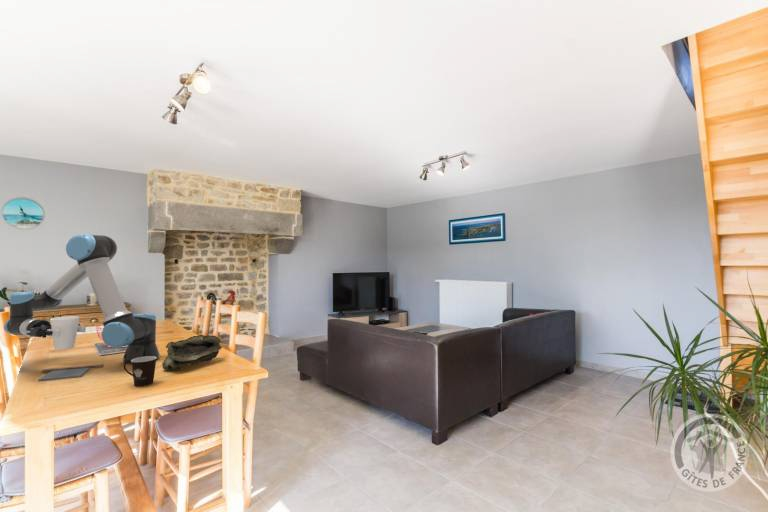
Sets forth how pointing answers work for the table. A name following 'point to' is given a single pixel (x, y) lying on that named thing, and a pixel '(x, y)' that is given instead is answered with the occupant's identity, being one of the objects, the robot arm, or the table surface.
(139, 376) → the coffee mug
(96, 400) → the table surface
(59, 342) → the foam cup
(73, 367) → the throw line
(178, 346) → the hollow geode rock
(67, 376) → the mat
